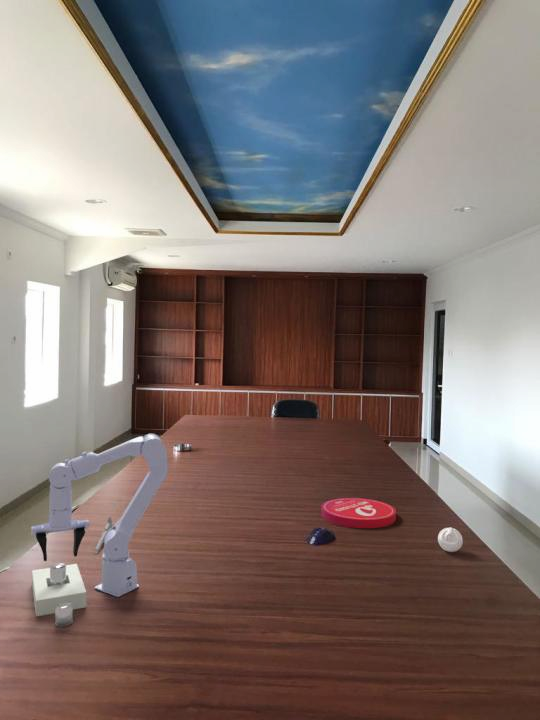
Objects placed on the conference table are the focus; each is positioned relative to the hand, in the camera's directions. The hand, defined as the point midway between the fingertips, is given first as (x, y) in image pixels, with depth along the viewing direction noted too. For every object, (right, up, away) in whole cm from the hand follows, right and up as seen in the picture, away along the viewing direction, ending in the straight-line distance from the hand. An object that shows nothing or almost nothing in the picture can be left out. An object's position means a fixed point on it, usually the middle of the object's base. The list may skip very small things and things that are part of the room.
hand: (60, 557), depth 148 cm
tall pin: (0, -10, -1) cm, 10 cm away
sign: (+93, -10, +74) cm, 119 cm away
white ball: (+119, -11, +37) cm, 125 cm away
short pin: (+7, -10, -15) cm, 20 cm away
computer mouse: (+75, -11, +47) cm, 89 cm away
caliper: (0, -9, +39) cm, 40 cm away
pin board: (0, -10, -1) cm, 10 cm away
